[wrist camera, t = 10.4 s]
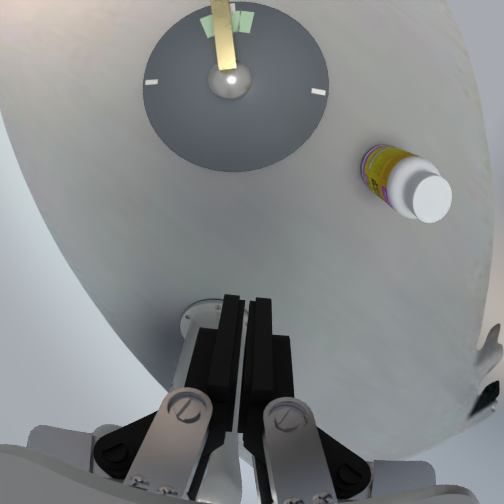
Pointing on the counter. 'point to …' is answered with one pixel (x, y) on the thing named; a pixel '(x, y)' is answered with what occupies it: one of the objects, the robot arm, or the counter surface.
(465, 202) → the counter surface
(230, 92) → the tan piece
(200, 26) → the dial
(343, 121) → the counter surface
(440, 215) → the supplement bottle
